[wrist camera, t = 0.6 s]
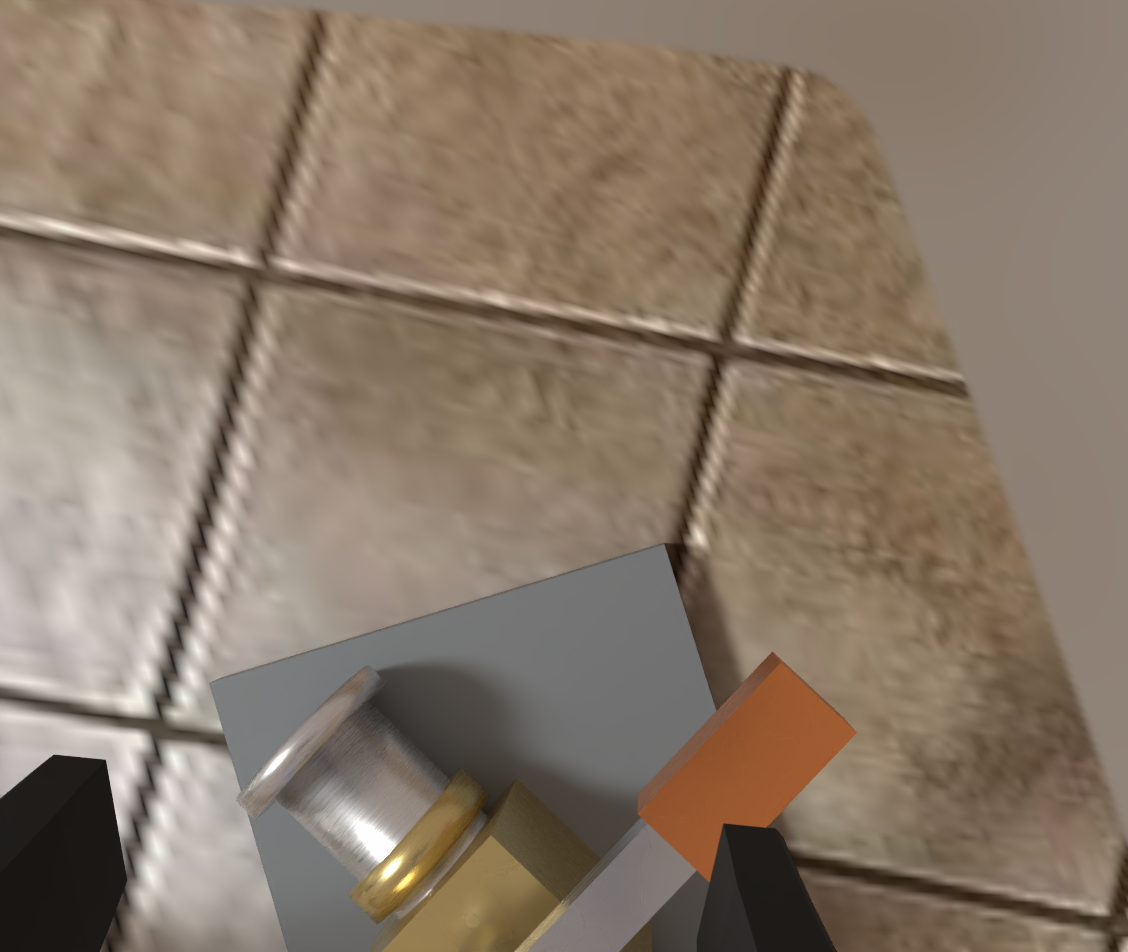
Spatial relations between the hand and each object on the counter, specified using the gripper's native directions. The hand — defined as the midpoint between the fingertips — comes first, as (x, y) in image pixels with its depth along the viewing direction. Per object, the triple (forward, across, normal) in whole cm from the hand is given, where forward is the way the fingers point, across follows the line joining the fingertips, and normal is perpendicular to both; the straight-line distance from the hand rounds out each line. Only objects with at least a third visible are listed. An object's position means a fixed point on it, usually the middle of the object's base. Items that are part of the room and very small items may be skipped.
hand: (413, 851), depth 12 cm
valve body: (+15, -1, +19) cm, 24 cm away
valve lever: (+10, -4, +11) cm, 15 cm away
